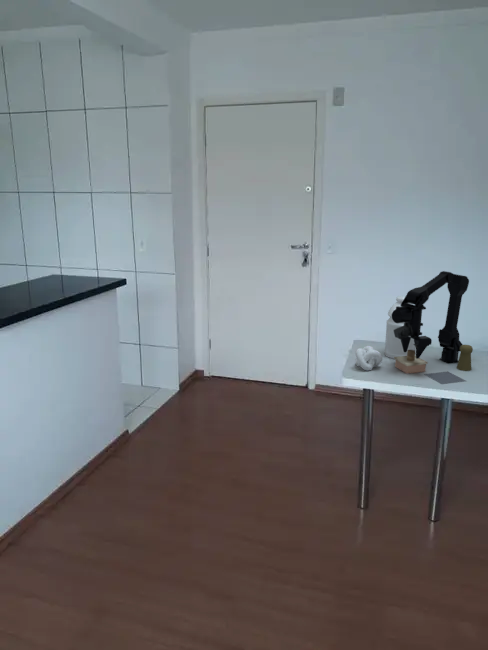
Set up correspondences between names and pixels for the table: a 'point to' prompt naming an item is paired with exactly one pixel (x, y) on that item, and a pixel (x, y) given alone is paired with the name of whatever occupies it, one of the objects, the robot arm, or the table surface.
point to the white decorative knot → (368, 358)
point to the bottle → (393, 343)
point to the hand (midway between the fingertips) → (411, 355)
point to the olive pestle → (465, 358)
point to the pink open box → (410, 368)
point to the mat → (445, 377)
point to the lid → (410, 359)
